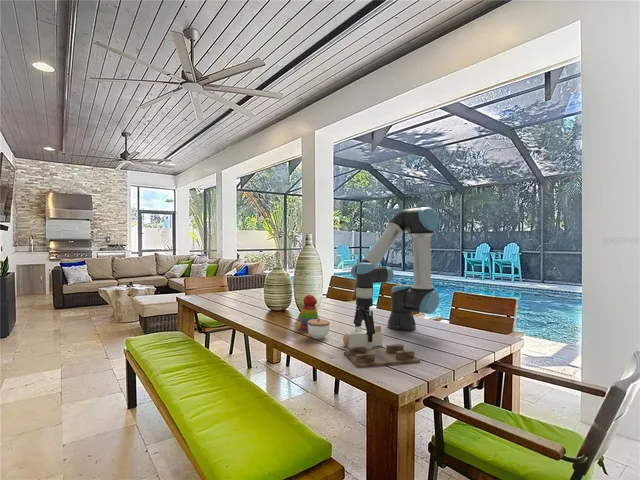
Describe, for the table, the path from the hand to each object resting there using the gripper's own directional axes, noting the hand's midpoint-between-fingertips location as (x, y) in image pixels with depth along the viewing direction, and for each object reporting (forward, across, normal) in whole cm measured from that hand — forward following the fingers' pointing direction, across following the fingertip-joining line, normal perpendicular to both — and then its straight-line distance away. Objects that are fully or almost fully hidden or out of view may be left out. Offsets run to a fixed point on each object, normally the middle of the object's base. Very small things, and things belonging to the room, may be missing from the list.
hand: (363, 344), depth 158 cm
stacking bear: (+1, -34, -17) cm, 38 cm away
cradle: (0, +18, 0) cm, 18 cm away
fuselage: (0, 0, 0) cm, 1 cm away
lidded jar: (+1, -16, -17) cm, 23 cm away
